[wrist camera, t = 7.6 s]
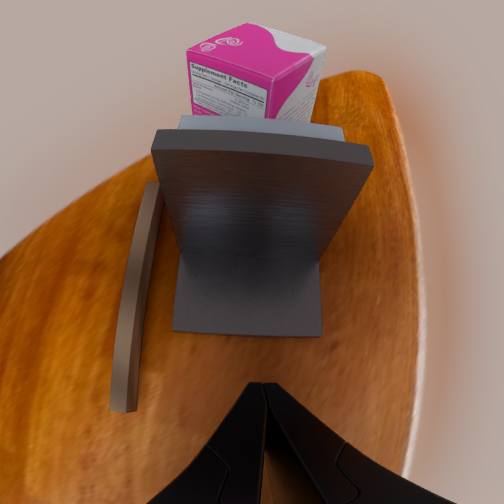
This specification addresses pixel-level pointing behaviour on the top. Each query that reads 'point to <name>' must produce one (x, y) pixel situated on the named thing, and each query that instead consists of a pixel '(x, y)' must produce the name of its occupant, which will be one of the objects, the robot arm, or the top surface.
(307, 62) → the supplement box
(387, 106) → the top surface
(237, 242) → the bookend
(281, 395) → the robot arm
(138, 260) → the rail
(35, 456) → the top surface
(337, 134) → the book
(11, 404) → the top surface
